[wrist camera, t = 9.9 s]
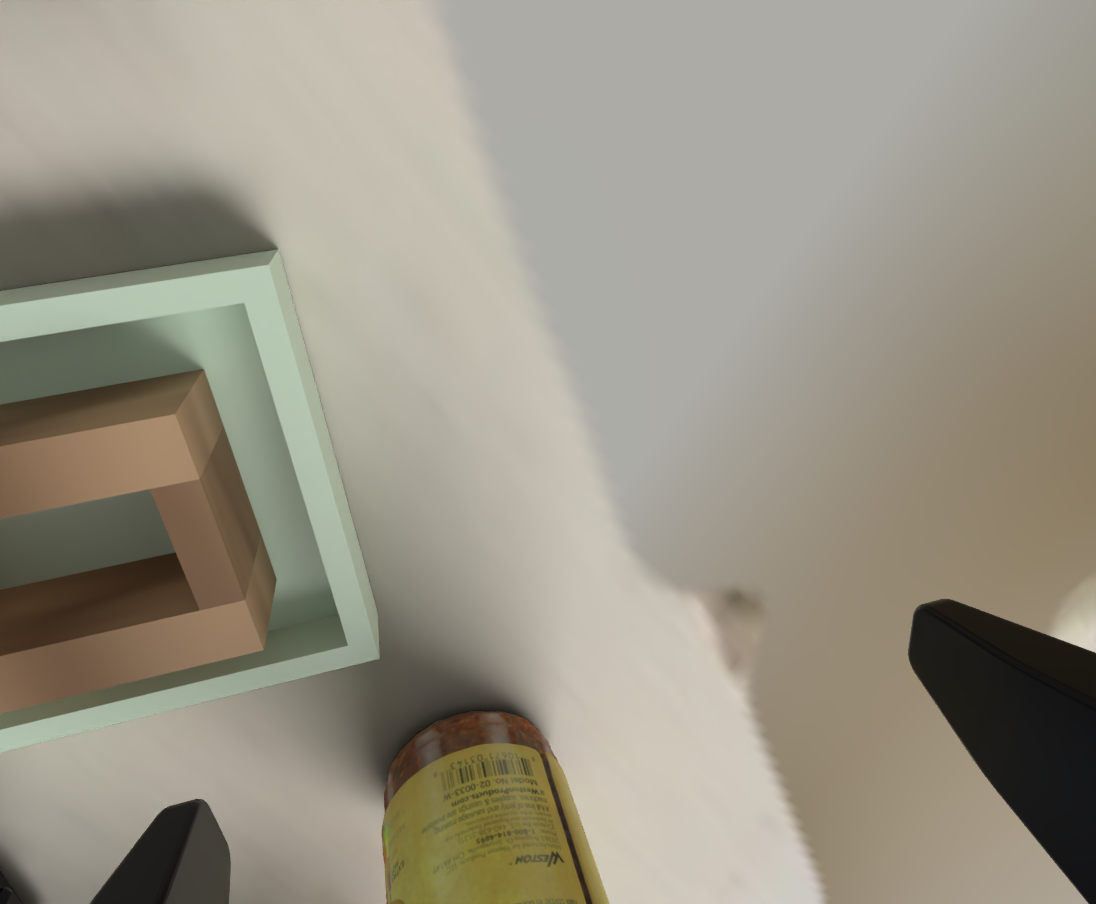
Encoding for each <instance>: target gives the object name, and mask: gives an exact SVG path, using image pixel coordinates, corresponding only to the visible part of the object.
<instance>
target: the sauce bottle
mask: <svg viewBox="0 0 1096 904" xmlns="http://www.w3.org/2000/svg"><path fill="white" fill-rule="evenodd" d="M384 807H385V814H384V820H383V825H382V843H383V857H384V864H385V882H386V898H387V904H609V901H608V898H607V896H606V893H605V890H604V887H603V884H602V881H601V878H600V875H599V872H598V869H597V867H596V864H595V861H594V858H593V855H592V852H591V849H590V846H589V843H588V841H587V838H586V835H585V832H584V829H583V826H582V823H581V820H580V818H579V815H578V812H577V809H576V806H575V803H574V800H573V797H572V794H571V792H570V789H569V786H568V783H567V780H566V777H565V774H564V772H563V769H562V768H561V766H560V765H559V763H558V761H557V759H556V757H555V756H554V754H553V752H552V750H551V748H550V745H549V743H548V741H547V740H546V739H545V738H544V737H543V736H542V734H541V733H540V731H539V730H538V729H537V728H535V727H534V726H533V725H532V724H531V723H530V722H529V721H527V720H526V719H525V718H523V717H521V716H517V715H514V714H509V713H506V712H504V711H500V712H496V711H489V712H483V711H470V712H466V713H462V714H456V715H454V716H452V717H449V718H446V719H444V720H438V721H436V722H434V723H433V724H431V725H430V726H429V727H428V728H426V729H424V730H423V731H421V732H420V733H417V734H416V735H415V736H414V738H413V739H412V740H411V741H410V742H409V743H408V744H406V745H405V746H404V747H403V748H402V750H401V751H400V752H399V754H398V755H397V756H396V757H395V759H394V761H393V763H392V764H391V766H390V769H389V772H388V778H387V786H386V790H385V794H384Z"/></svg>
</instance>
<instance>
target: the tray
mask: <svg viewBox="0 0 1096 904" xmlns="http://www.w3.org/2000/svg"><path fill="white" fill-rule="evenodd" d="M200 369H204V370H205V373H206V376H207V379H208V382H209V385H210V388H211V391H212V394H213V396H214V399H215V402H216V405H217V408H218V411H219V414H220V417H221V420H222V422H223V425H224V428H225V431H226V434H227V437H228V440H229V443H230V446H231V448H232V451H233V454H234V457H235V460H236V463H237V466H238V469H239V472H240V475H241V477H242V480H243V483H244V486H245V489H246V492H247V495H248V498H249V501H250V503H251V506H252V509H253V512H254V515H255V518H256V521H257V524H258V527H259V529H260V532H261V535H262V538H263V541H264V544H265V547H266V550H267V553H268V555H269V558H270V561H271V564H272V567H273V570H274V573H275V576H276V579H277V581H276V587H275V592H274V598H273V603H272V609H271V614H270V619H269V625H268V630H267V636H266V641H265V647H264V650H262V651H258V652H254V653H250V654H246V655H242V656H237V657H233V658H229V659H225V660H221V661H217V662H212V663H208V664H204V665H200V666H196V667H192V668H187V669H183V670H179V671H175V672H171V673H167V674H162V675H158V676H154V677H150V678H146V679H142V680H137V681H133V682H129V683H125V684H121V685H117V686H112V687H108V688H104V689H100V690H96V691H92V692H87V693H83V694H79V695H75V696H71V697H67V698H62V699H58V700H54V701H50V702H46V703H42V704H37V705H33V706H29V707H25V708H21V709H17V710H12V711H8V712H4V713H0V752H4V751H8V750H12V749H16V748H20V747H24V746H28V745H32V744H36V743H41V742H45V741H49V740H53V739H57V738H61V737H65V736H69V735H73V734H77V733H81V732H85V731H89V730H93V729H97V728H101V727H105V726H109V725H114V724H118V723H122V722H126V721H130V720H134V719H138V718H142V717H146V716H150V715H154V714H158V713H162V712H166V711H170V710H174V709H178V708H182V707H187V706H191V705H195V704H199V703H203V702H207V701H211V700H215V699H219V698H223V697H227V696H231V695H235V694H239V693H243V692H247V691H251V690H256V689H260V688H264V687H268V686H272V685H276V684H280V683H284V682H288V681H292V680H296V679H300V678H304V677H308V676H312V675H316V674H320V673H324V672H329V671H333V670H337V669H341V668H345V667H349V666H353V665H357V664H361V663H365V662H369V661H373V660H377V659H380V657H379V630H378V612H377V608H376V604H375V601H374V597H373V593H372V590H371V586H370V582H369V579H368V575H367V571H366V568H365V564H364V560H363V557H362V553H361V549H360V546H359V542H358V538H357V535H356V531H355V527H354V524H353V520H352V516H351V513H350V509H349V505H348V502H347V498H346V494H345V491H344V487H343V483H342V480H341V476H340V472H339V469H338V465H337V461H336V458H335V454H334V450H333V447H332V443H331V439H330V436H329V432H328V428H327V425H326V421H325V417H324V414H323V410H322V406H321V403H320V399H319V395H318V392H317V388H316V384H315V381H314V377H313V373H312V370H311V366H310V362H309V359H308V355H307V351H306V348H305V344H304V340H303V337H302V333H301V329H300V326H299V322H298V318H297V315H296V311H295V307H294V304H293V300H292V296H291V293H290V289H289V285H288V282H287V278H286V274H285V271H284V267H283V263H282V260H281V256H280V252H279V249H277V250H270V251H263V252H257V253H250V254H243V255H237V256H230V257H223V258H217V259H210V260H203V261H196V262H190V263H183V264H176V265H170V266H163V267H156V268H150V269H143V270H136V271H130V272H123V273H116V274H110V275H103V276H96V277H90V278H83V279H76V280H70V281H63V282H56V283H50V284H43V285H36V286H30V287H23V288H16V289H10V290H3V291H0V405H1V404H7V403H12V402H18V401H24V400H30V399H35V398H41V397H47V396H52V395H58V394H64V393H69V392H75V391H81V390H86V389H92V388H98V387H104V386H109V385H115V384H121V383H126V382H132V381H138V380H143V379H149V378H155V377H160V376H166V375H172V374H178V373H183V372H189V371H195V370H200ZM170 553H175V549H174V547H173V545H172V542H171V540H170V537H169V535H168V532H167V530H166V528H165V525H164V523H163V520H162V518H161V516H160V513H159V511H158V508H157V506H156V503H155V501H154V499H153V496H152V494H151V491H150V489H148V490H143V491H138V492H133V493H128V494H123V495H118V496H113V497H108V498H103V499H98V500H93V501H87V502H82V503H77V504H72V505H67V506H62V507H57V508H52V509H47V510H42V511H37V512H32V513H27V514H22V515H17V516H12V517H7V518H2V519H0V590H2V589H7V588H12V587H16V586H21V585H26V584H30V583H35V582H40V581H44V580H49V579H54V578H58V577H63V576H68V575H72V574H77V573H82V572H86V571H91V570H96V569H100V568H105V567H110V566H114V565H119V564H124V563H128V562H133V561H138V560H142V559H147V558H152V557H156V556H161V555H166V554H170Z"/></svg>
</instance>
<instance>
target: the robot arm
mask: <svg viewBox="0 0 1096 904" xmlns="http://www.w3.org/2000/svg"><path fill="white" fill-rule="evenodd" d="M908 656H909V661H910V664H911V666H912V669H913V670H914V672H915V674H916V675H917V677H918V678H919V680H920V681H921V683H922V684H923V686H924V687H925V689H926V690H927V692H928V693H929V695H930V696H931V697H932V699H933V700H934V702H935V704H936V705H937V706H938V708H939V709H940V711H941V712H942V714H943V715H944V717H945V718H946V720H947V721H948V723H949V724H950V726H951V727H952V729H953V730H954V732H955V733H956V735H957V736H958V738H959V739H960V741H961V742H962V744H963V745H964V747H965V748H966V750H967V751H968V753H969V754H970V755H971V757H972V758H973V760H974V761H975V763H976V764H977V765H978V767H979V768H980V769H981V771H982V772H983V774H984V775H985V776H986V777H987V779H988V780H989V781H990V783H991V784H992V785H993V787H994V788H995V789H996V791H997V792H998V793H999V794H1000V795H1001V796H1002V798H1003V799H1004V800H1005V802H1006V803H1007V804H1008V805H1009V806H1010V807H1011V809H1012V810H1013V811H1014V813H1015V814H1016V815H1017V816H1018V817H1019V819H1020V820H1021V821H1022V822H1023V824H1024V825H1025V826H1026V827H1027V829H1028V830H1029V831H1030V832H1031V834H1032V835H1033V836H1034V837H1035V838H1036V840H1037V841H1038V842H1039V843H1040V844H1041V846H1042V847H1043V848H1044V849H1045V851H1046V852H1047V853H1048V854H1049V856H1050V857H1051V858H1052V859H1053V861H1054V862H1055V863H1056V864H1057V866H1058V867H1059V868H1060V869H1061V870H1062V872H1063V873H1064V874H1065V875H1066V876H1067V878H1068V879H1069V880H1070V881H1071V883H1072V884H1073V885H1074V886H1075V888H1076V889H1077V890H1078V891H1079V893H1080V894H1081V895H1082V896H1083V897H1084V899H1085V900H1086V901H1087V902H1088V904H1096V653H1095V652H1092V651H1089V650H1087V649H1084V648H1081V647H1078V646H1076V645H1073V644H1070V643H1068V642H1065V641H1062V640H1059V639H1057V638H1054V637H1051V636H1049V635H1046V634H1043V633H1040V632H1038V631H1035V630H1032V629H1030V628H1027V627H1024V626H1022V625H1019V624H1016V623H1013V622H1011V621H1008V620H1005V619H1003V618H1000V617H997V616H994V615H992V614H989V613H986V612H984V611H981V610H978V609H976V608H973V607H970V606H967V605H965V604H962V603H959V602H956V601H954V600H950V599H940V600H937V601H933V602H929V603H925V604H921V605H919V606H918V607H917V608H916V610H915V611H914V614H913V621H912V627H911V635H910V642H909V649H908ZM230 868H231V862H230V852H229V848H228V844H227V842H226V840H225V838H224V836H223V833H222V831H221V829H220V827H219V825H218V823H217V821H216V819H215V817H214V815H213V813H212V811H211V809H210V807H209V805H208V804H207V802H205V801H204V800H202V799H195V800H191V801H187V802H183V803H180V804H176V805H172V806H169V807H167V808H165V809H164V810H162V811H161V812H160V813H159V814H158V815H157V817H156V818H155V819H154V821H153V822H152V823H151V824H150V826H149V827H148V828H147V830H146V831H145V832H144V834H143V835H142V836H141V837H140V839H139V840H138V841H137V843H136V844H135V845H134V847H133V848H132V849H131V850H130V852H129V853H128V854H127V856H126V857H125V858H124V860H123V861H122V862H121V863H120V865H119V866H118V867H117V869H116V870H115V871H114V873H113V874H112V875H111V876H110V878H109V879H108V880H107V882H106V883H105V884H104V886H103V887H102V888H101V890H100V891H99V892H98V893H97V895H96V896H95V897H94V899H93V900H92V901H91V903H90V904H229V891H230ZM0 904H23V902H22V901H21V899H20V898H19V897H18V895H17V894H16V892H15V891H14V890H13V888H12V887H11V885H10V884H9V883H8V881H7V880H6V878H5V877H4V875H3V874H2V873H1V871H0Z"/></svg>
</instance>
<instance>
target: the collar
mask: <svg viewBox="0 0 1096 904" xmlns="http://www.w3.org/2000/svg"><path fill="white" fill-rule="evenodd" d="M148 489H150V491H151V494H152V496H153V499H154V501H155V503H156V506H157V508H158V511H159V513H160V516H161V518H162V520H163V523H164V525H165V528H166V530H167V532H168V535H169V537H170V540H171V542H172V545H173V547H174V549H175V553H170V554H166V555H161V556H156V557H152V558H147V559H142V560H138V561H133V562H128V563H124V564H119V565H114V566H110V567H105V568H100V569H96V570H91V571H86V572H82V573H77V574H72V575H68V576H63V577H58V578H54V579H49V580H44V581H40V582H35V583H30V584H26V585H21V586H16V587H12V588H7V589H2V590H0V713H4V712H8V711H12V710H17V709H21V708H25V707H29V706H33V705H37V704H42V703H46V702H50V701H54V700H58V699H62V698H67V697H71V696H75V695H79V694H83V693H87V692H92V691H96V690H100V689H104V688H108V687H112V686H117V685H121V684H125V683H129V682H133V681H137V680H142V679H146V678H150V677H154V676H158V675H162V674H167V673H171V672H175V671H179V670H183V669H187V668H192V667H196V666H200V665H204V664H208V663H212V662H217V661H221V660H225V659H229V658H233V657H237V656H242V655H246V654H250V653H254V652H258V651H262V650H264V647H265V641H266V636H267V630H268V625H269V619H270V614H271V609H272V603H273V598H274V592H275V587H276V581H277V579H276V576H275V573H274V570H273V567H272V564H271V561H270V558H269V555H268V553H267V550H266V547H265V544H264V541H263V538H262V535H261V532H260V529H259V527H258V524H257V521H256V518H255V515H254V512H253V509H252V506H251V503H250V501H249V498H248V495H247V492H246V489H245V486H244V483H243V480H242V477H241V475H240V472H239V469H238V466H237V463H236V460H235V457H234V454H233V451H232V448H231V446H230V443H229V440H228V437H227V434H226V431H225V428H224V425H223V422H222V420H221V417H220V414H219V411H218V408H217V405H216V402H215V399H214V396H213V394H212V391H211V388H210V385H209V382H208V379H207V376H206V373H205V370H204V369H200V370H195V371H189V372H183V373H178V374H172V375H166V376H160V377H155V378H149V379H143V380H138V381H132V382H126V383H121V384H115V385H109V386H104V387H98V388H92V389H86V390H81V391H75V392H69V393H64V394H58V395H52V396H47V397H41V398H35V399H30V400H24V401H18V402H12V403H7V404H1V405H0V519H2V518H7V517H12V516H17V515H22V514H27V513H32V512H37V511H42V510H47V509H52V508H57V507H62V506H67V505H72V504H77V503H82V502H87V501H93V500H98V499H103V498H108V497H113V496H118V495H123V494H128V493H133V492H138V491H143V490H148Z"/></svg>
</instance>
